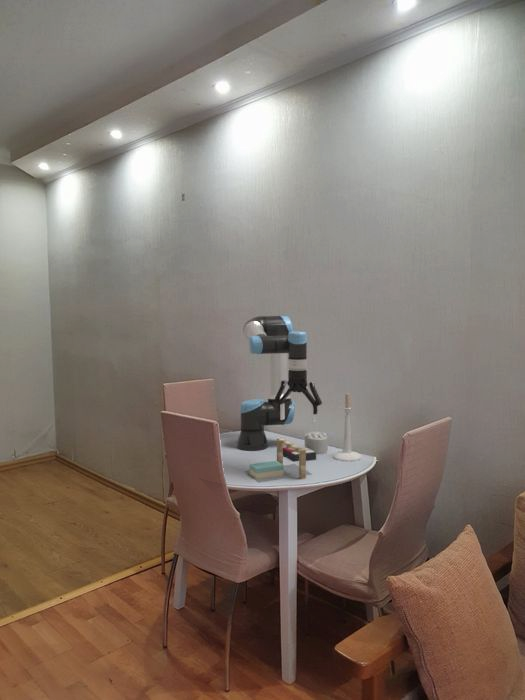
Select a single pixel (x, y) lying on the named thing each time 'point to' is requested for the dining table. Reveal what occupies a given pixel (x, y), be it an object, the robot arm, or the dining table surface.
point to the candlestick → (347, 437)
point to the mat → (288, 473)
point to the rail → (299, 450)
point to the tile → (266, 469)
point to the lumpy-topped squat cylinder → (317, 442)
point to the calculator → (295, 456)
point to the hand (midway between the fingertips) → (297, 420)
